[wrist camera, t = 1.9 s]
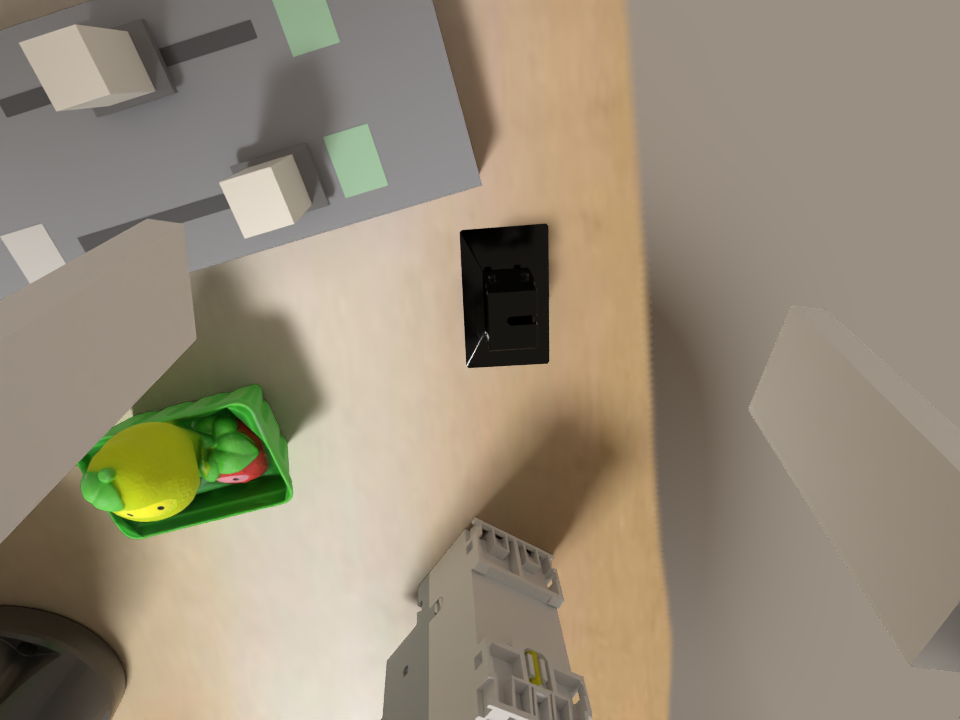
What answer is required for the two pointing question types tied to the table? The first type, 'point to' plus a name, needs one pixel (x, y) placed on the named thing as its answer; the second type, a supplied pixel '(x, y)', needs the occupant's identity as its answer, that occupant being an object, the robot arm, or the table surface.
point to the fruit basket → (189, 464)
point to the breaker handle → (274, 190)
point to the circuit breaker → (486, 639)
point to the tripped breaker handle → (100, 67)
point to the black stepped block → (506, 295)
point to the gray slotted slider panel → (230, 126)
